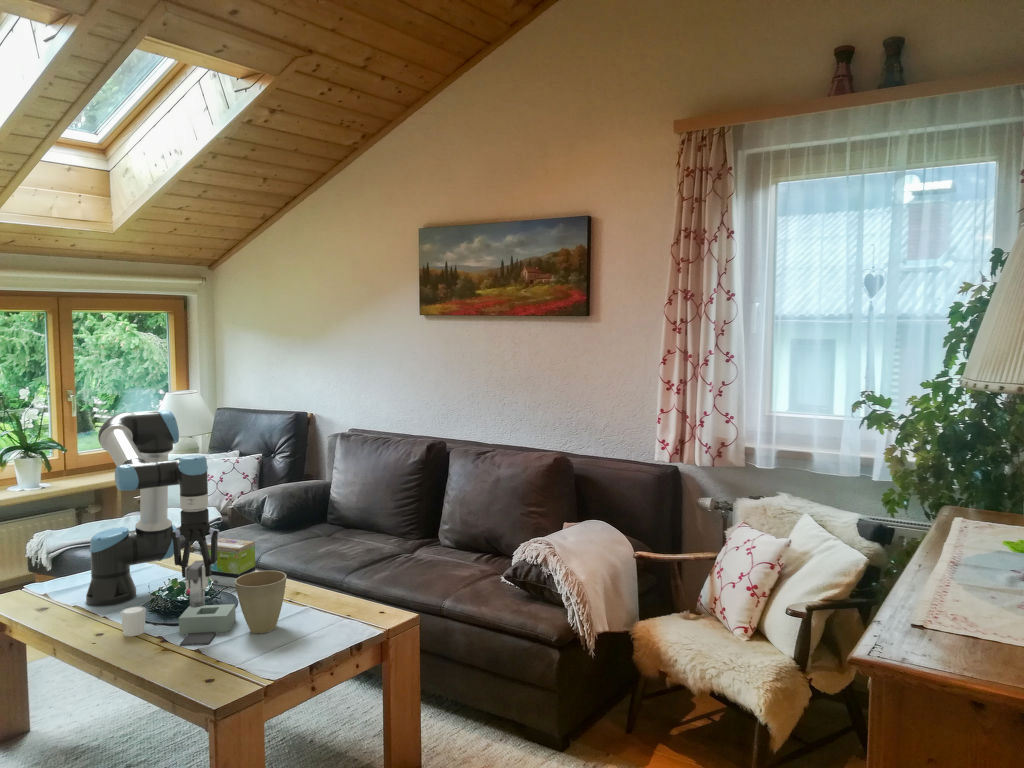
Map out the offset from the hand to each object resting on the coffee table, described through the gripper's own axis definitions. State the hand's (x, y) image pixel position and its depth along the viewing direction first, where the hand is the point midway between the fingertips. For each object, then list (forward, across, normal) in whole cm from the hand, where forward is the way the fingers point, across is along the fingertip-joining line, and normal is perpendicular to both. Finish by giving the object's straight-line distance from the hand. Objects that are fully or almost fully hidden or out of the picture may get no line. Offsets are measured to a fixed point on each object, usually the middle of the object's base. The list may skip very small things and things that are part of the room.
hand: (196, 587), depth 220 cm
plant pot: (+16, +17, +6) cm, 24 cm away
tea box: (+16, -4, +53) cm, 56 cm away
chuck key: (+5, 0, 0) cm, 5 cm away
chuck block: (+16, 0, +10) cm, 19 cm away
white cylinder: (+16, -21, +8) cm, 28 cm away
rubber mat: (+16, 0, 0) cm, 16 cm away
